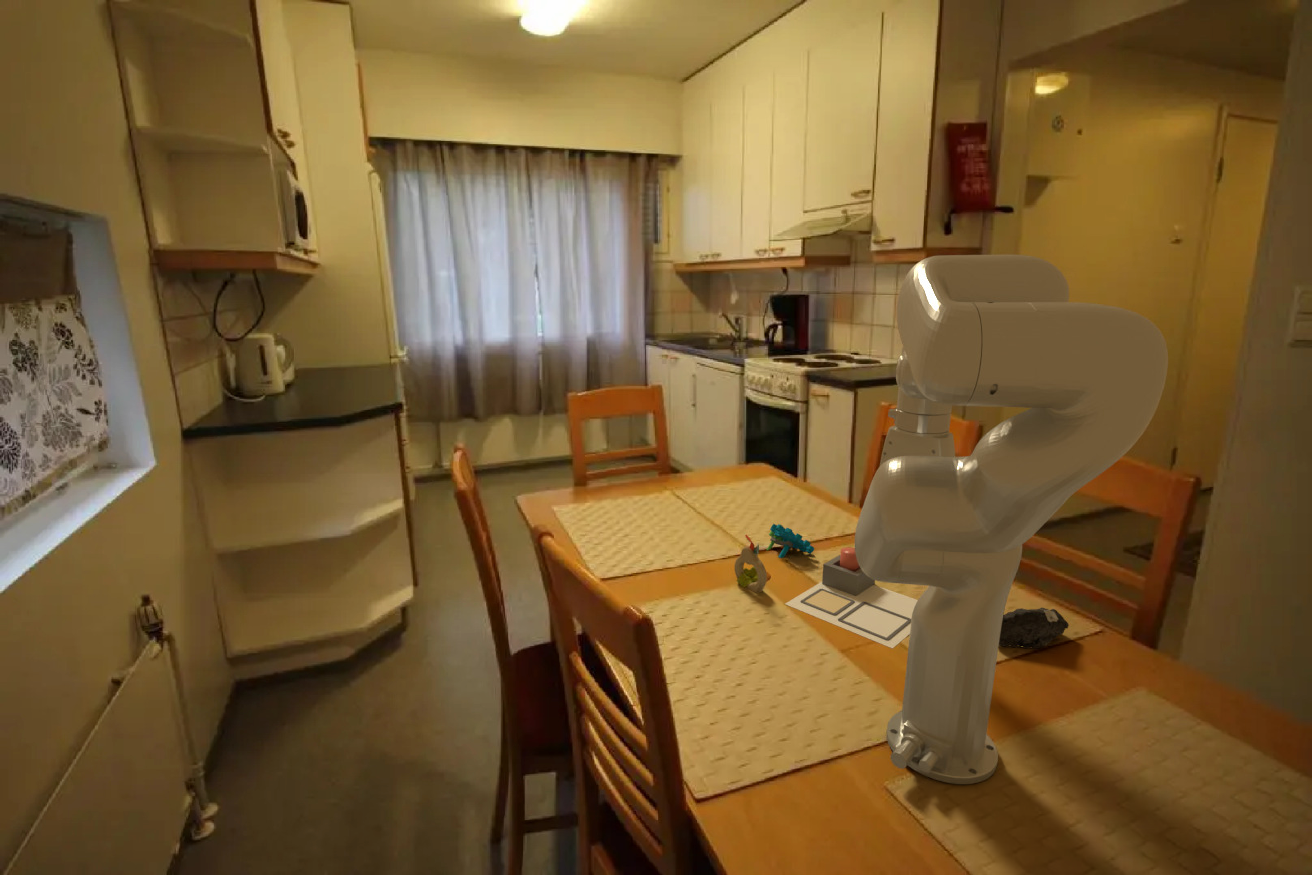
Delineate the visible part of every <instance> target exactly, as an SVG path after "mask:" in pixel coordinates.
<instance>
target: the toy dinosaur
mask: <svg viewBox="0 0 1312 875" xmlns="http://www.w3.org/2000/svg"><path fill="white" fill-rule="evenodd" d="M769 530H770V532H769V533H768V536H769V537H770V539H769V541H770V543H769V545H768V546H767V548H766V551H769V550H771V549H773V547H774V544H776V545H779V546H782V547H783V549H782V550H781V552H780V553H779V555H778V557H777V558H778V559H783V558H785V557H786V554H787V553H788V552H789V549H792V548H794V549H795V550H796V549H798V550H799V551H801V552H803V553H807V554H809V555H812V553H814V551H815V547H814V546H813V545H811V544H812V543H811V542H810V541H809V540H807V539H805V540H803V539H802V538H803V537H804V536H802V534H799V533H796V534H795V533H794V532H793V529H792V528H789V527H786V528H785V527H784V526H783V525H782V524H779V523H778V524H775V523H772V525H771V527H770V529H769Z"/></svg>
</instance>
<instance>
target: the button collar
mask: <svg viewBox="0 0 1312 875" xmlns="http://www.w3.org/2000/svg"><path fill="white" fill-rule="evenodd" d="M821 582H822V584H824V585H827V586H829V587H832V588H835V589H838V590H840V591H843V592H846V593H848V594H851V595H854V596H857V595H859V594H860V593H862V592H863V591H865V590H866V589H868V588H869V587H871V586H872V585H876V580H873V579H871V578H869V577H868V576H867V575H866V574H865V573H864V572H863V571H862V570H861V568H860V569H859V570H857V571H855V572H854V571H851V570H848V569H845V568H842V567H840V554H839V555H837V556H835V557H834V558H831V559H830V560H828V561H826V562H824V563H823V564H822V580H821Z"/></svg>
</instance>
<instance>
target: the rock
mask: <svg viewBox="0 0 1312 875" xmlns="http://www.w3.org/2000/svg"><path fill="white" fill-rule="evenodd" d="M1069 625H1070V624H1069V623H1068V621H1066V620H1065V618H1064V617H1063V616H1062V614H1061V613H1060V612H1058V610H1056V609H1055V608H1052V609H1049V608H1045V607H1040V608H1033V609H1032V608H1031V609H1026V608H1023V607H1022V608H1016V609H1015V610H1014V611H1007V613H1004V615H1003V620H1002V626H1001V633H1000V639H999V646H1002V647H1011V646H1012V647H1011V648H1015V647H1020V646H1023V647H1022V648H1024V649H1031V647H1032V649H1039V648H1043V647H1045V646H1047V645H1048V644H1050V643H1051V642H1052V641H1053V640H1055V639H1057V636H1060V635H1063V634H1064V632H1065V630H1066V629H1067V630H1068V628H1069Z"/></svg>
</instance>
